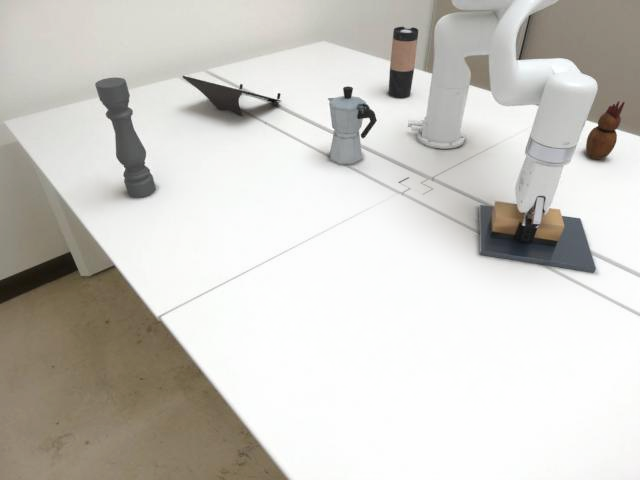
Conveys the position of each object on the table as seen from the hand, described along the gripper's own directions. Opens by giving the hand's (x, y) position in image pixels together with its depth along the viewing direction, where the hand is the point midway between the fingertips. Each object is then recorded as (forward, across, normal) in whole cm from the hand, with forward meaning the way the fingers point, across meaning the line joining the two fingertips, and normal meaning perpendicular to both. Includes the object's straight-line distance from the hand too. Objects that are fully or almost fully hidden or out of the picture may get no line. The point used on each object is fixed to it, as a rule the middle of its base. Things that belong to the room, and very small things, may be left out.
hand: (521, 230), depth 90 cm
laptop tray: (+2, -48, -79) cm, 93 cm away
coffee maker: (+2, -24, -40) cm, 46 cm away
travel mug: (+2, -71, -32) cm, 78 cm away
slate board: (+2, -1, +2) cm, 3 cm away
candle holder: (+2, +3, -83) cm, 83 cm away
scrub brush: (+1, 0, 0) cm, 1 cm away
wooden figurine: (+2, -40, +22) cm, 46 cm away
